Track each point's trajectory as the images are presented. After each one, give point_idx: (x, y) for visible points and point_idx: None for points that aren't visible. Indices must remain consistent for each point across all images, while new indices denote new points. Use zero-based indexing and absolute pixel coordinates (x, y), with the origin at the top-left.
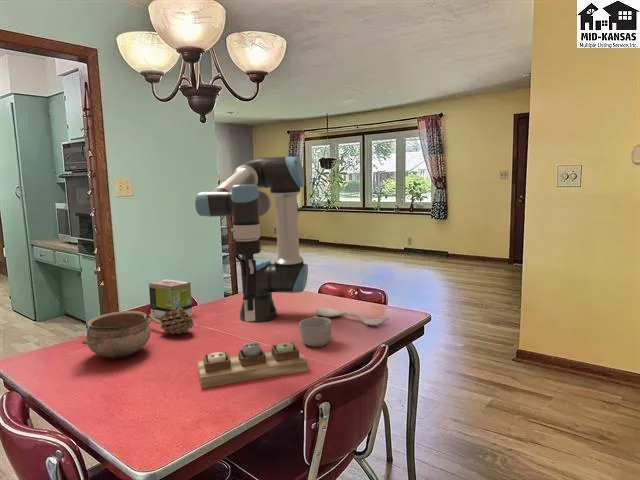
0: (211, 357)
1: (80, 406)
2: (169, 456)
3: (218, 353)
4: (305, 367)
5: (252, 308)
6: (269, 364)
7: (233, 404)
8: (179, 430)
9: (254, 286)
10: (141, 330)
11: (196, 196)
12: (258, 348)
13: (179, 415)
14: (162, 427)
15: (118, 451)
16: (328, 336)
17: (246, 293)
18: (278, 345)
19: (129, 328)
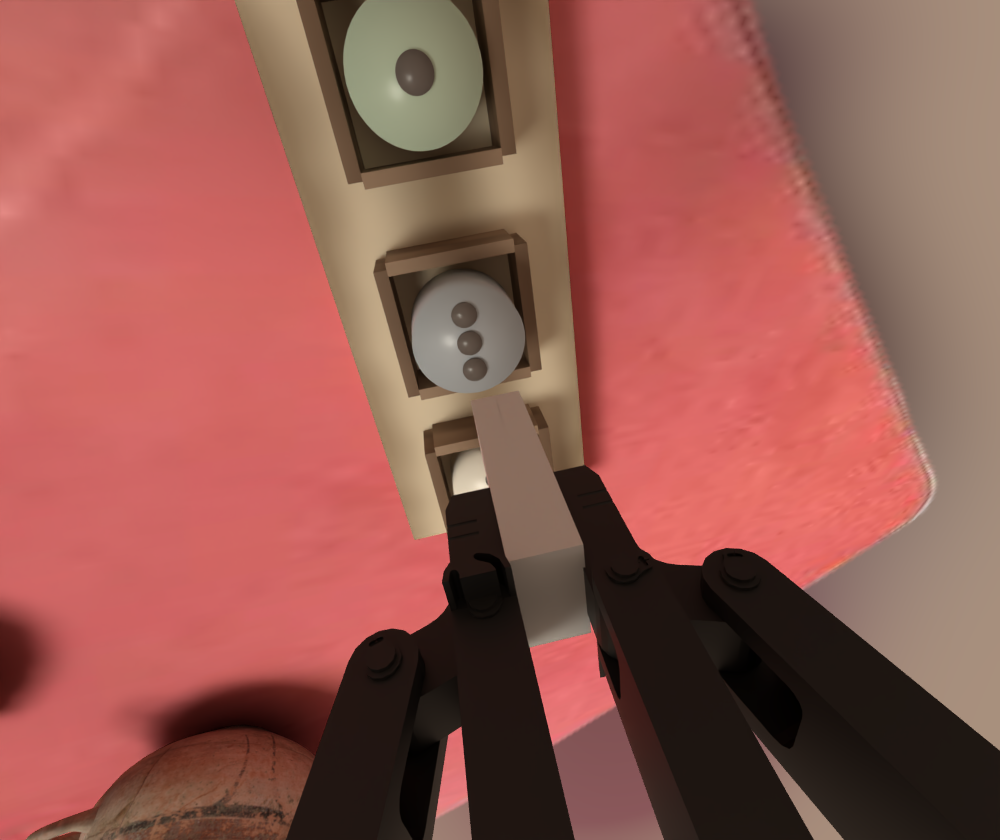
0: None
1: (584, 695)
2: (903, 476)
3: (473, 489)
4: None
5: (600, 485)
6: (531, 207)
7: (737, 355)
8: (806, 480)
9: (977, 756)
10: (240, 811)
11: None
12: (501, 292)
13: (728, 496)
14: (769, 519)
15: (820, 570)
16: None
17: (741, 706)
18: (401, 131)
19: None
